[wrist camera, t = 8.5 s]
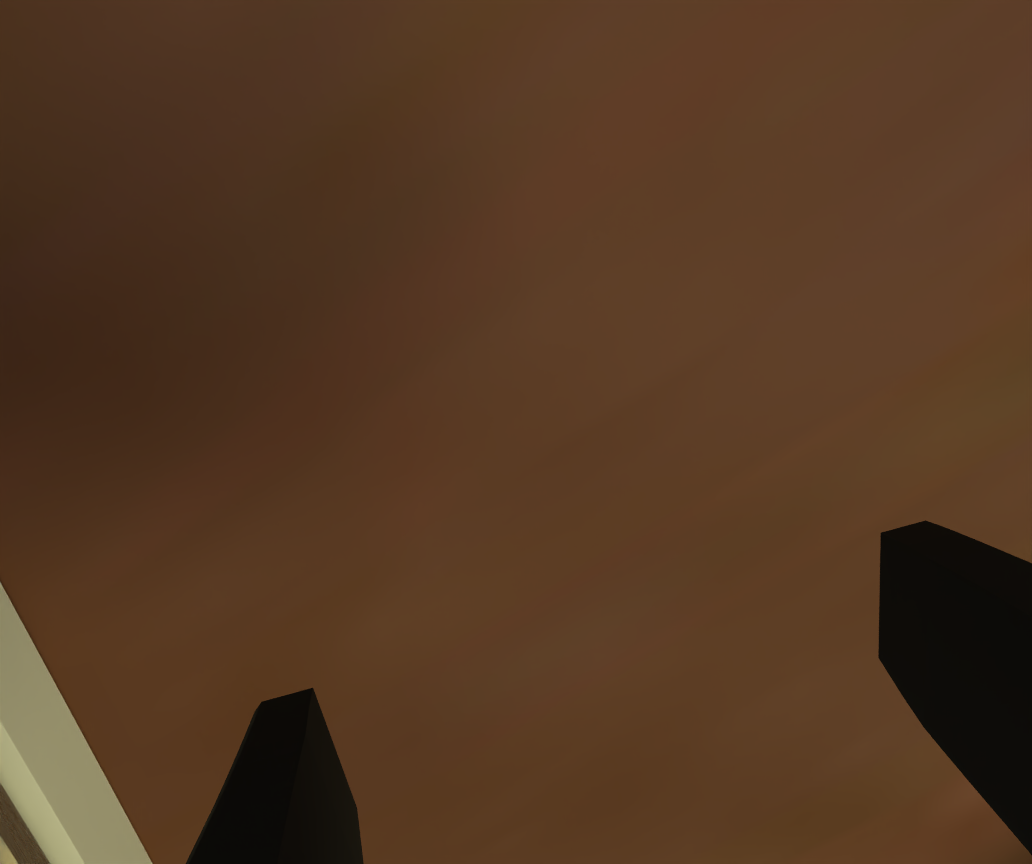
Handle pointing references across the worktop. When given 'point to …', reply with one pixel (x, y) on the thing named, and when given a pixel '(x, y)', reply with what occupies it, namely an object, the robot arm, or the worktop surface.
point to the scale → (54, 762)
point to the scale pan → (16, 836)
